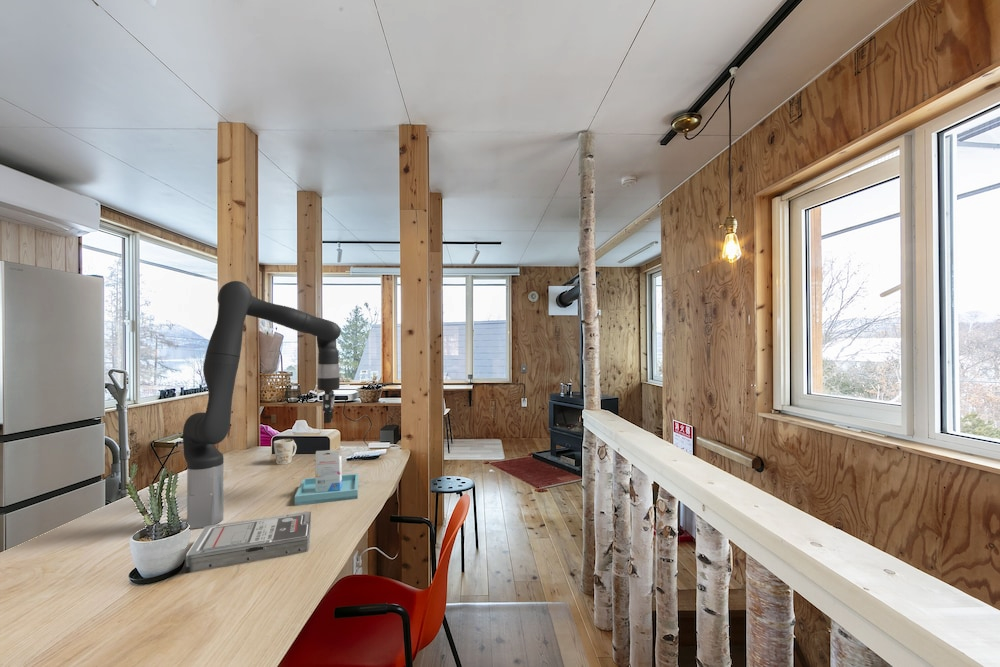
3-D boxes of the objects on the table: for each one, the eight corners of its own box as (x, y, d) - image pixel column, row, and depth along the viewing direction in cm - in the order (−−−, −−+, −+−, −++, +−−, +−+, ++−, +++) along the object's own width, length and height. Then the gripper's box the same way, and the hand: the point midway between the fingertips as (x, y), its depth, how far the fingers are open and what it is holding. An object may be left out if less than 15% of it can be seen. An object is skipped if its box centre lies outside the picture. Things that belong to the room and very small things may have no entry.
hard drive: (204, 542, 120) (204, 526, 120) (310, 525, 130) (310, 511, 130) (184, 575, 103) (184, 556, 103) (308, 553, 113) (308, 536, 113)
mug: (269, 465, 194) (269, 442, 195) (287, 457, 207) (287, 436, 207) (286, 465, 193) (286, 443, 193) (303, 458, 205) (303, 437, 206)
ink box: (342, 486, 161) (342, 446, 161) (340, 490, 156) (339, 449, 157) (318, 488, 160) (317, 447, 160) (315, 492, 155) (314, 451, 155)
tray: (357, 498, 151) (357, 489, 151) (294, 505, 145) (294, 496, 145) (358, 481, 170) (358, 473, 170) (302, 486, 164) (302, 478, 164)
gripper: (338, 377, 153) (338, 423, 152) (340, 374, 166) (340, 417, 166) (315, 378, 151) (315, 425, 150) (319, 375, 164) (319, 418, 164)
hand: (328, 420), depth 158 cm, fingers open, 8 cm apart
